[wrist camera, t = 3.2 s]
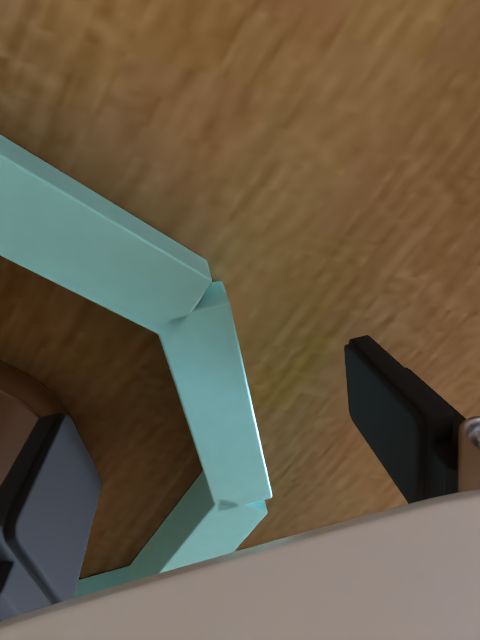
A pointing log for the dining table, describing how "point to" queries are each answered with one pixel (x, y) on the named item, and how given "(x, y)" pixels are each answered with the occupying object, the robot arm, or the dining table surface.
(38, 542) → the robot arm
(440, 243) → the dining table surface
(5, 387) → the post
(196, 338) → the ring
